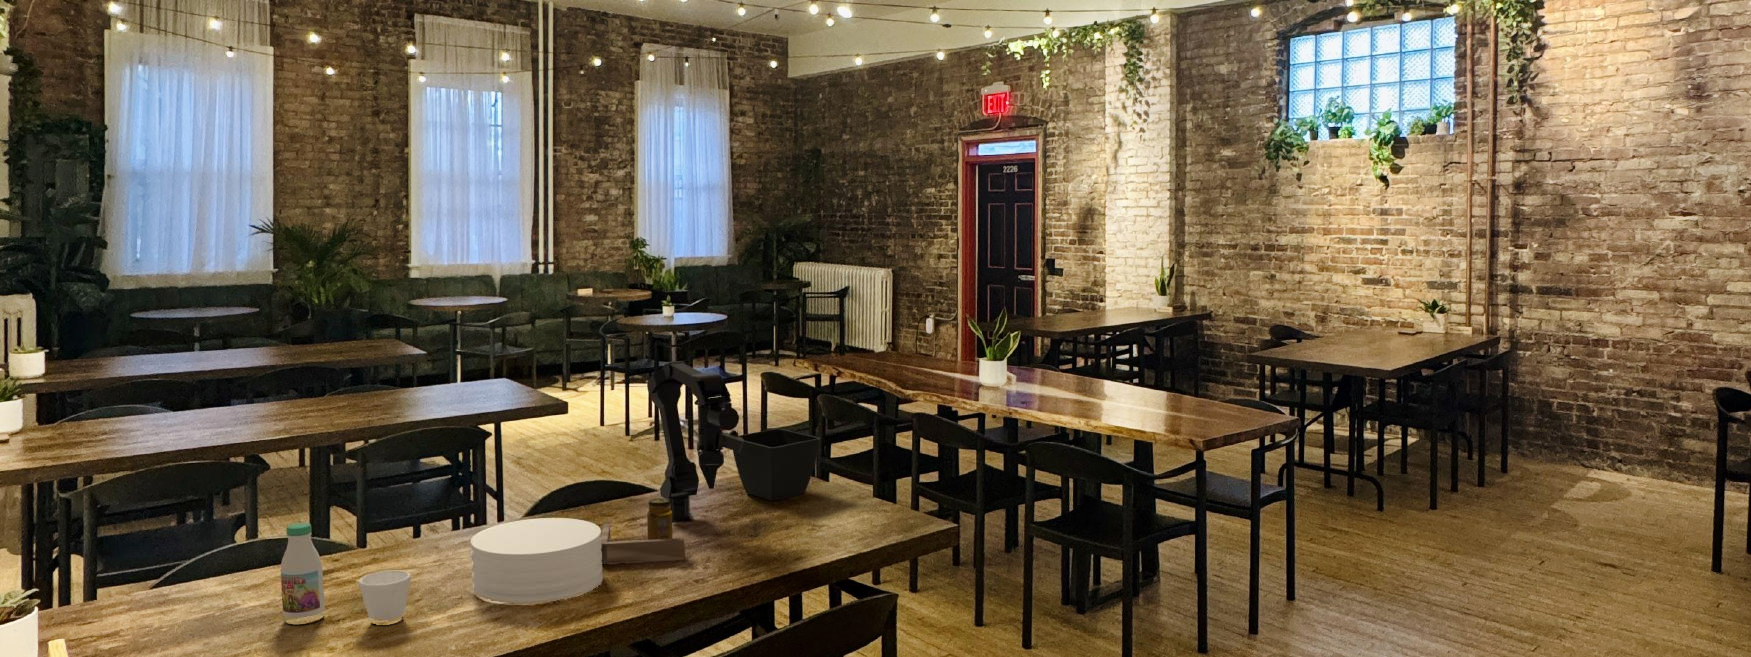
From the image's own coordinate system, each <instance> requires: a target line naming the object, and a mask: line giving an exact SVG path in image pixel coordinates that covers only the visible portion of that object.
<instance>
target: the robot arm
mask: <svg viewBox="0 0 1751 657" xmlns="http://www.w3.org/2000/svg"><path fill="white" fill-rule="evenodd" d="M683 385H685V386H687V387H688V388H690V389H691V392H690V393H691V394H692V395H694V396H695V398H696V400H695V401H694V405H695V406H697V431H698V432H697V433H698V435H697V436H698V437H697V438H698V440H697V441H696V452H697V455H698V458H697V459H698V467H699V468H700V470H701V473H702V475H703V477H704V480H705V482H706V485H707V487H708V489H709V490H713V489H714V488H715V484H716V478H717V474H718V470H719V469H720V467H723V465H724V463H725V455H724V452H723V451H722V450H724V448H725V449H728V450H731V451H733V450H734V451H735V452H738V453H740V451H741V448H742V445H743V442H744V440H743V438H741V437H738V436H739V433H738V431H737V430H734V429H735V428H736V427H737V426H738V424H739V422H740V415H739V412H738V411H737V410H736V409H735V408H734V407H732V406H733V405H732V398H731V394H730V392H729V391H730V390H728V387H727V385H726V382H725V380H724V378H723V377H722V375H720V374H718V373H707V372H702V371H699V370H698V369H696V368H693V367H692V366H690V365H688V364H686V363H685V362H684V361H682V360H679V361H678V360H676V361H669V362H666V363H664V365H663V366H662V368H660V369H657V371H655V372H654V373H652V375H651V376H650V378H649V379H648V381H647V385H646V389H647V392H648V393H649V396H650V400H651V402H652V403H654V405H655V406H656V407H657V408H658V410H659V416H660V422H661V425H662V432H663V438H664V443H665V447H666V448H665V449H666V453H667V459H668V462H667V465H666V468H665V471H664V480H663V483H662V484H661V486H660V487H659V492H660V498H666V499H669V500H670V506H671V508H670V510H671V511H672V522H684V521H685V522H686V521H692V520H693V516H692V512H691V504H690V503H691V502H690V500H691V499H690V496H697V494H698V490H699V489H698V488H699V484H700V479H699V475H698V471H697V465H696V462H694V461H692V462H691V460H690V459H689V458H688V456H687V451H686V450H687V449H686V447H685V441H684V440H685V439H684V436H683V431H682V425H681V424H682V423H681V418H680V414H679V409H678V408H679V407H678V404H679V401H680V398H681V395H682V391H681V388H682V387H683ZM724 431H729V432H724Z"/></svg>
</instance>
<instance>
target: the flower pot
mask: <svg viewBox="0 0 1751 657" xmlns="http://www.w3.org/2000/svg"><path fill="white" fill-rule="evenodd" d="M738 437H741V438H743V440H744V442H743V445H742V448H741V451H740V453H738V452H735V451H734V450H732V452H733V457H734V458H733V459H734V462H735V466H736V470H737V472H738V476H739V479H740V481H741V484H742V487H743V489H744V491H745V493H746V494H748V495H751V496H754V497H758V498H762V499H764V500H765V499H766V500H768V501H772V502H774V501H775V502H776V501H780V500H783V499H788V498H792V497H795V496H800V495H804V494H805V493H806V491H807V489H808V486H809V484H810V481H811V478H812V475H813V472H814V468H815V465H816V461H817V456H818V453H819V448H820V442H821V438H820V437H817V436H813V435H809V434H805V433H802V432H801V433H800V432H796V431H793V430H792V431H791V430H789V429H783V428H773V429H766V430H761V431H756V432H749V433H747V434H741V435H739V434H738ZM803 493H804V494H803Z"/></svg>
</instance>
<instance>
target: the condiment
mask: <svg viewBox="0 0 1751 657" xmlns="http://www.w3.org/2000/svg"><path fill="white" fill-rule="evenodd" d="M647 508H648V511H647V513H646V518H647V519H646V522H647V523H646V525H647V529H646V530H647V540H656V539H673V521H672V511H671V510H670V508H671V506H670V500H669V499H666V498H663V497H658V498H653V499H650V500H648V507H647Z"/></svg>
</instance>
